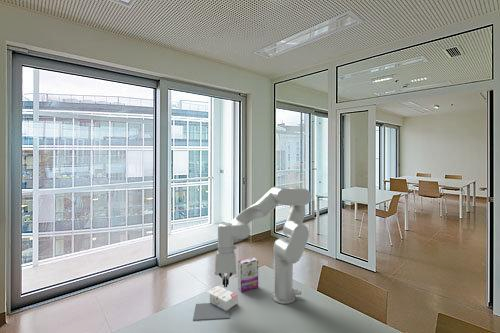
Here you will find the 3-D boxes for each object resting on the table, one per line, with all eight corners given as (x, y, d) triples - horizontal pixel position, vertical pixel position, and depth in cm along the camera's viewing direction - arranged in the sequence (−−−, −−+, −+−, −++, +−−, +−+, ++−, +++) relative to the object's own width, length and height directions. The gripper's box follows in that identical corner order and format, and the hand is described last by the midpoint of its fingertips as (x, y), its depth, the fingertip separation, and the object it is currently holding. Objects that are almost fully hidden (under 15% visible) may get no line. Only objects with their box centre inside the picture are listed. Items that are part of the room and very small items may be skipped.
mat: (229, 302, 132) (229, 301, 132) (230, 318, 119) (230, 317, 119) (195, 304, 130) (195, 303, 130) (192, 320, 117) (192, 319, 117)
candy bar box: (254, 284, 152) (254, 256, 151) (258, 287, 147) (258, 259, 147) (237, 288, 146) (237, 260, 146) (241, 292, 142) (241, 263, 142)
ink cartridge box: (237, 303, 130) (217, 293, 140) (237, 294, 130) (217, 284, 139) (226, 311, 124) (205, 300, 133) (226, 301, 123) (205, 291, 133)
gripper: (240, 245, 129) (240, 281, 129) (210, 246, 127) (210, 283, 128) (241, 251, 121) (241, 289, 122) (209, 252, 120) (209, 290, 120)
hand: (225, 286), depth 125 cm, fingers closed
